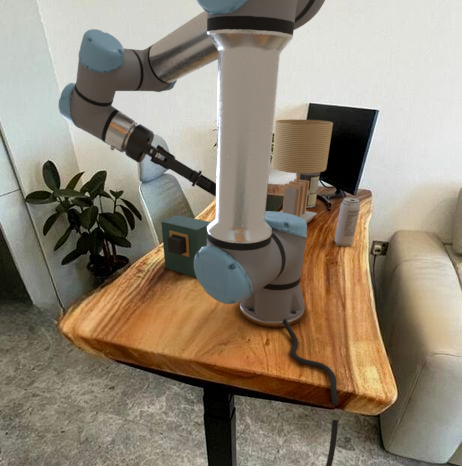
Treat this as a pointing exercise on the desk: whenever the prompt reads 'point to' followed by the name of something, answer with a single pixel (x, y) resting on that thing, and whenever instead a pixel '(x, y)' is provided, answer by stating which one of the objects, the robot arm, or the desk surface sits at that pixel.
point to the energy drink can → (347, 221)
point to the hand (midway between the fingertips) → (222, 193)
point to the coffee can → (311, 187)
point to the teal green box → (194, 242)
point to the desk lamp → (300, 158)
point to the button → (177, 244)
